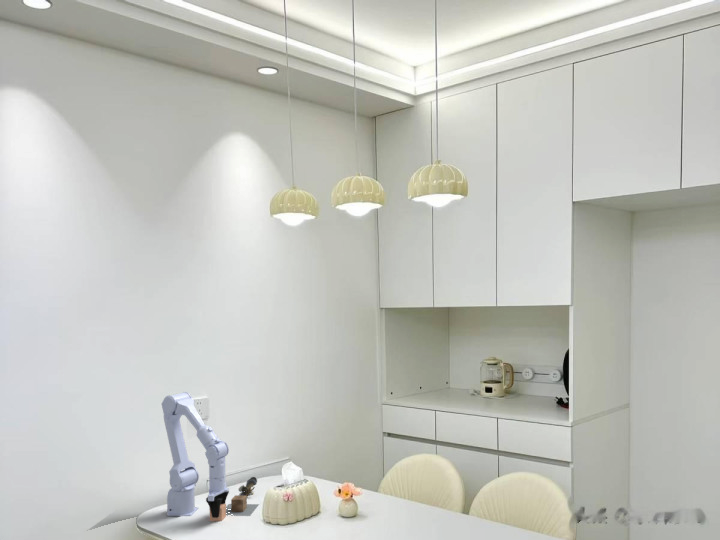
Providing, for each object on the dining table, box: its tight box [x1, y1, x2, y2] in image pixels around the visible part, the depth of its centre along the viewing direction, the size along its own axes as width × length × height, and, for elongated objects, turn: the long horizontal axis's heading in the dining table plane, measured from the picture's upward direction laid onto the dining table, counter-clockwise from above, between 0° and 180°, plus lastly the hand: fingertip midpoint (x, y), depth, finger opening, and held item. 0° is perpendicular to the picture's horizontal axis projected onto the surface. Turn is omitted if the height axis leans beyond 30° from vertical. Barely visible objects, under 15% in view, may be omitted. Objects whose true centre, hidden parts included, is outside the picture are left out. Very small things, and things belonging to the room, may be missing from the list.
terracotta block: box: [209, 503, 227, 522], centre depth 219 cm, size 4×4×4 cm
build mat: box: [226, 503, 260, 517], centre depth 227 cm, size 12×12×1 cm
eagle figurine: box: [238, 476, 258, 498], centre depth 245 cm, size 8×7×9 cm
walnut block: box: [230, 494, 248, 512], centre depth 227 cm, size 4×4×4 cm
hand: (217, 514), depth 219 cm, fingers closed on terracotta block, 4 cm apart
